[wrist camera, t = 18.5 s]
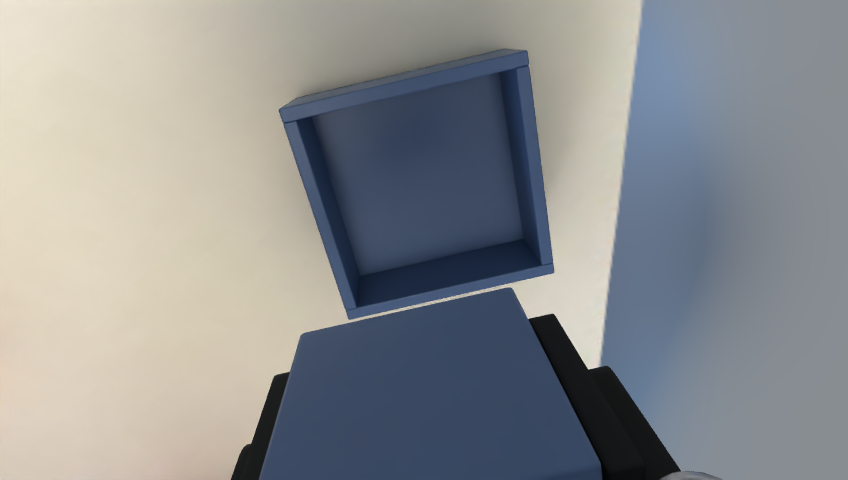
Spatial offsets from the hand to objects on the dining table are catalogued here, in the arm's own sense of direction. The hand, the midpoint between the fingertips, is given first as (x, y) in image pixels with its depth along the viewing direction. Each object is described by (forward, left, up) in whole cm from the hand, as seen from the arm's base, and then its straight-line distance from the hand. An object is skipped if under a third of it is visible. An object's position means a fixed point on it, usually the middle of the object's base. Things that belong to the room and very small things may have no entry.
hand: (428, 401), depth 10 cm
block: (0, 0, 0) cm, 0 cm away
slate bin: (0, +1, -17) cm, 17 cm away
